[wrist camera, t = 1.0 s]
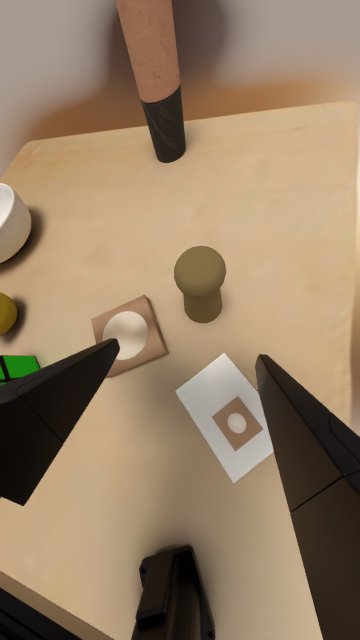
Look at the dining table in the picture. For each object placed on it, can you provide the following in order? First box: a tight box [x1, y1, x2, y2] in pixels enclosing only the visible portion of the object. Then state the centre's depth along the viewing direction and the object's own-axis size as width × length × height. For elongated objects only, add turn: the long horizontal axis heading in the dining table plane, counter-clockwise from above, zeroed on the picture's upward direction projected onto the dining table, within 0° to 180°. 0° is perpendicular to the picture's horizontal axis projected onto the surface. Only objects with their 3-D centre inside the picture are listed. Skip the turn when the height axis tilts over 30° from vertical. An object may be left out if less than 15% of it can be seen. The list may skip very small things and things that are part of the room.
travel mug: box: [115, 0, 186, 163], centre depth 26 cm, size 8×8×20 cm
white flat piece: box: [175, 353, 274, 483], centre depth 19 cm, size 12×9×1 cm
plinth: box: [91, 295, 168, 378], centre depth 24 cm, size 10×10×2 cm
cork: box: [174, 246, 226, 323], centre depth 19 cm, size 6×6×11 cm
